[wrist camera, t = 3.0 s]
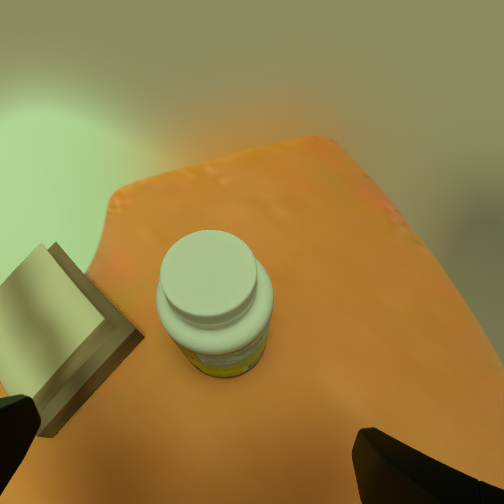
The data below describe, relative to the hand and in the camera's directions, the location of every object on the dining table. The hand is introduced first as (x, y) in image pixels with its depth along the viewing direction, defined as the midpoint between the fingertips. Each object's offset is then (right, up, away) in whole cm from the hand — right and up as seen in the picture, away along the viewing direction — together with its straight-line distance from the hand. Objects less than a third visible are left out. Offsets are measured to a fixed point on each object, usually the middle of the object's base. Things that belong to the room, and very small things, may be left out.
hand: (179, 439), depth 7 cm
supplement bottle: (0, -1, +15) cm, 15 cm away
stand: (-13, -2, +14) cm, 19 cm away
